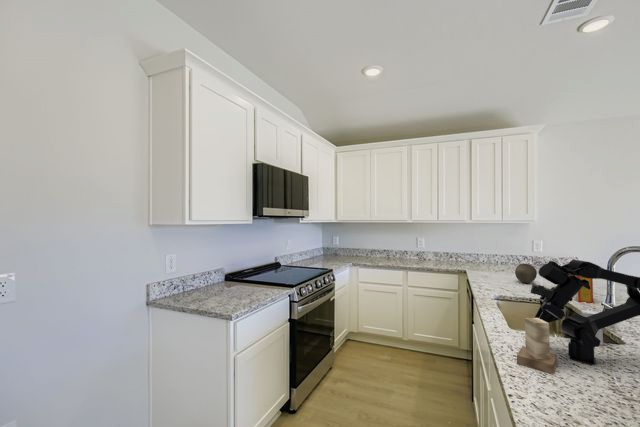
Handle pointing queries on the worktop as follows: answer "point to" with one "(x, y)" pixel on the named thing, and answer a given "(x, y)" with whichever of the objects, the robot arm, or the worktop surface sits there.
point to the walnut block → (537, 361)
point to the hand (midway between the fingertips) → (536, 322)
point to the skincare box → (600, 332)
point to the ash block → (537, 338)
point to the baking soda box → (585, 292)
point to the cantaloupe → (525, 273)
